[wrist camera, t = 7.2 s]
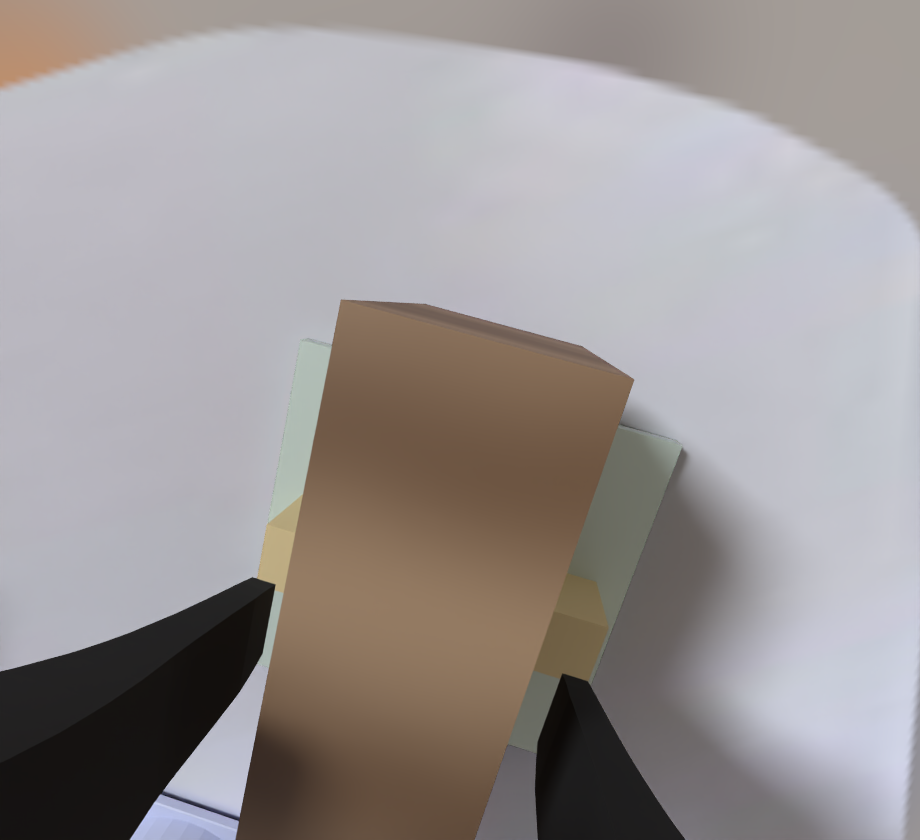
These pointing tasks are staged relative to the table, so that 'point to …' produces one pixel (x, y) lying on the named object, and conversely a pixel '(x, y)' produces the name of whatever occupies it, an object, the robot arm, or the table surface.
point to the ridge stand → (591, 569)
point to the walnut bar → (423, 570)
